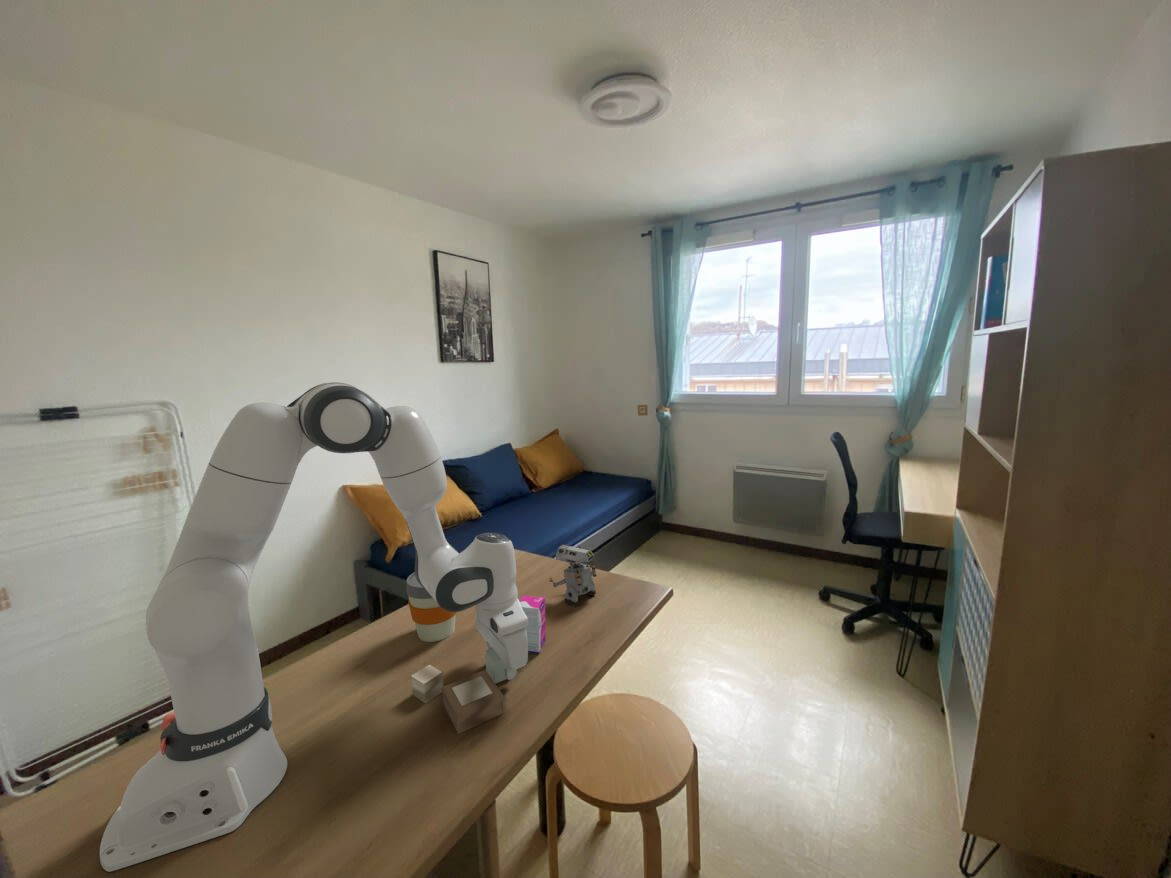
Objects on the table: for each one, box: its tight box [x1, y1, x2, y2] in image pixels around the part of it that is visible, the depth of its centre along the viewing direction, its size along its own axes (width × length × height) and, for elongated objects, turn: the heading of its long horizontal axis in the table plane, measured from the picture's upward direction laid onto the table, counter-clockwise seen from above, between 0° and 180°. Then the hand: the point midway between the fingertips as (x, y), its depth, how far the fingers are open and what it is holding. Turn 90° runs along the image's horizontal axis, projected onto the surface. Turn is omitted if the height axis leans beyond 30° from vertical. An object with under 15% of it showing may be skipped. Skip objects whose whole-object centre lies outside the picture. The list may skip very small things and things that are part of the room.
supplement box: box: [519, 595, 547, 655], centre depth 111 cm, size 6×6×12 cm
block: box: [410, 664, 444, 704], centre depth 96 cm, size 4×4×4 cm
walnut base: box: [442, 669, 505, 735], centre depth 91 cm, size 9×9×4 cm
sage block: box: [484, 648, 518, 685], centre depth 102 cm, size 5×5×5 cm
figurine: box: [548, 544, 597, 607], centre depth 134 cm, size 9×12×15 cm
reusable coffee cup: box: [406, 571, 458, 643], centre depth 118 cm, size 13×13×15 cm
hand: (501, 665), depth 102 cm, fingers open, 8 cm apart
